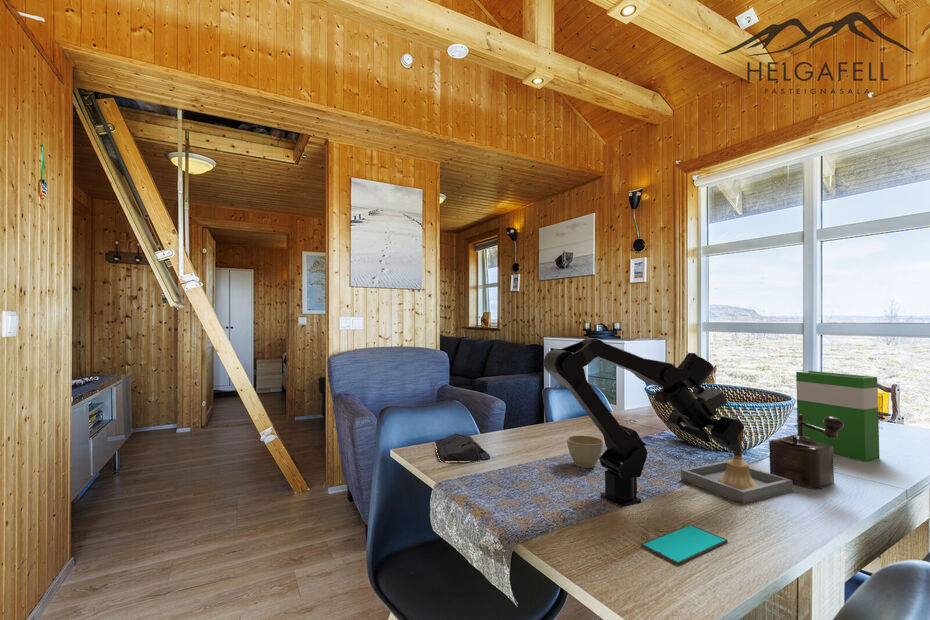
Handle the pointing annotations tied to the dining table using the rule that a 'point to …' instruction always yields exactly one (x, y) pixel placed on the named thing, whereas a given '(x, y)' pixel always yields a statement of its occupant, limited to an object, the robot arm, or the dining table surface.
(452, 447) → the dark slate chunk
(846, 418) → the hardback book
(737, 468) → the hand bell
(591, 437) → the flower pot
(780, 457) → the manual coffee grinder
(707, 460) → the dining table surface
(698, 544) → the smartphone
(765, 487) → the tray
